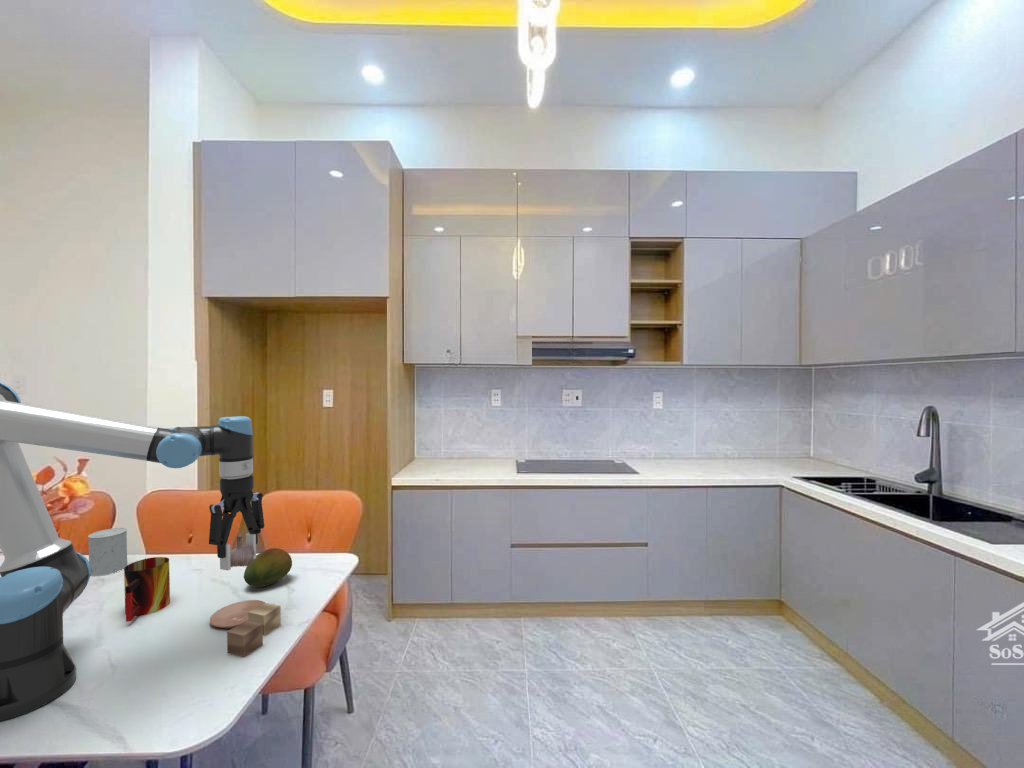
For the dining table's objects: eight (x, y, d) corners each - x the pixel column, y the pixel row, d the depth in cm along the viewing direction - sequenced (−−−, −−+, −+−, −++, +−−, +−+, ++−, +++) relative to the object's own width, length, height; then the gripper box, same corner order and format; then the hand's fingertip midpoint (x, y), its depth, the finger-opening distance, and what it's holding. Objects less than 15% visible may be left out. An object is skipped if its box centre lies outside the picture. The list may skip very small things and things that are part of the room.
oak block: (264, 635, 110) (263, 615, 110) (248, 632, 112) (248, 612, 112) (280, 625, 115) (280, 605, 115) (265, 621, 117) (265, 602, 117)
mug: (126, 627, 115) (125, 579, 115) (124, 606, 125) (123, 563, 125) (173, 613, 121) (172, 568, 121) (168, 595, 132) (167, 554, 131)
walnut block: (243, 657, 102) (243, 635, 102) (227, 653, 103) (226, 631, 103) (262, 645, 107) (262, 624, 106) (246, 641, 108) (246, 620, 108)
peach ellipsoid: (235, 634, 111) (235, 629, 111) (197, 625, 115) (197, 620, 115) (278, 608, 123) (278, 604, 123) (243, 601, 127) (243, 597, 127)
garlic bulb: (256, 566, 118) (255, 535, 118) (223, 573, 114) (222, 542, 113) (253, 557, 124) (252, 528, 124) (221, 564, 120) (220, 533, 120)
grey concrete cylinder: (88, 569, 150) (88, 532, 150) (126, 561, 156) (126, 525, 156) (88, 578, 143) (87, 540, 143) (128, 570, 149) (127, 532, 149)
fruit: (298, 576, 143) (297, 544, 143) (270, 595, 131) (270, 560, 131) (265, 573, 145) (265, 542, 145) (235, 592, 133) (234, 558, 133)
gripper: (210, 485, 108) (213, 581, 108) (278, 469, 127) (280, 551, 127) (188, 483, 111) (190, 577, 111) (258, 467, 129) (260, 548, 129)
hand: (238, 563), depth 119 cm, fingers closed on garlic bulb, 7 cm apart
